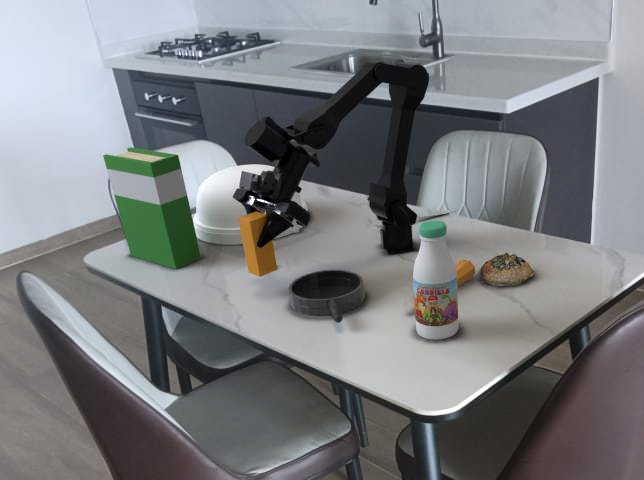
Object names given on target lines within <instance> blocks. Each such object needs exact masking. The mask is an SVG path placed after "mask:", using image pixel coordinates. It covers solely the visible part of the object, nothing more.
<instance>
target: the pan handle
mask: <svg viewBox="0 0 644 480" xmlns="http://www.w3.org/2000/svg"><path fill="white" fill-rule="evenodd" d="M328 305H329V308H330V310H331V313H332V315H331V316H332V317H333V321H334V322H335V323H337V324H339V323H341V322H343V319H344V317H343V314H342V313H341V312H340V310H339V307H338V305H337V302H336V300H334V299H331V300H329V302H328Z"/></svg>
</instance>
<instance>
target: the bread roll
mask: <svg viewBox="0 0 644 480" xmlns="http://www.w3.org/2000/svg"><path fill="white" fill-rule="evenodd" d="M480 275H481V278H482V279H483V281H484V282H485V283H487V284H490V285H494V286H498V287H503V286H504V287H505V286H519V285H521V284H522V283H524V282H526V281H527V280H528V279H531V278H532V277H533V276H534V275H535V270H534V269H533V268H532V265H531V264H530V263H529V262H527V261H526V259H523V258H522V256H518V255H517V254H516V253H513V254H509V253H508V252H505V253H504V254H497V255H496V256H493V257H492V258H490V259H488V260H487V261H485V262H484V263H483V264H482V265H481V267H480Z"/></svg>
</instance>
